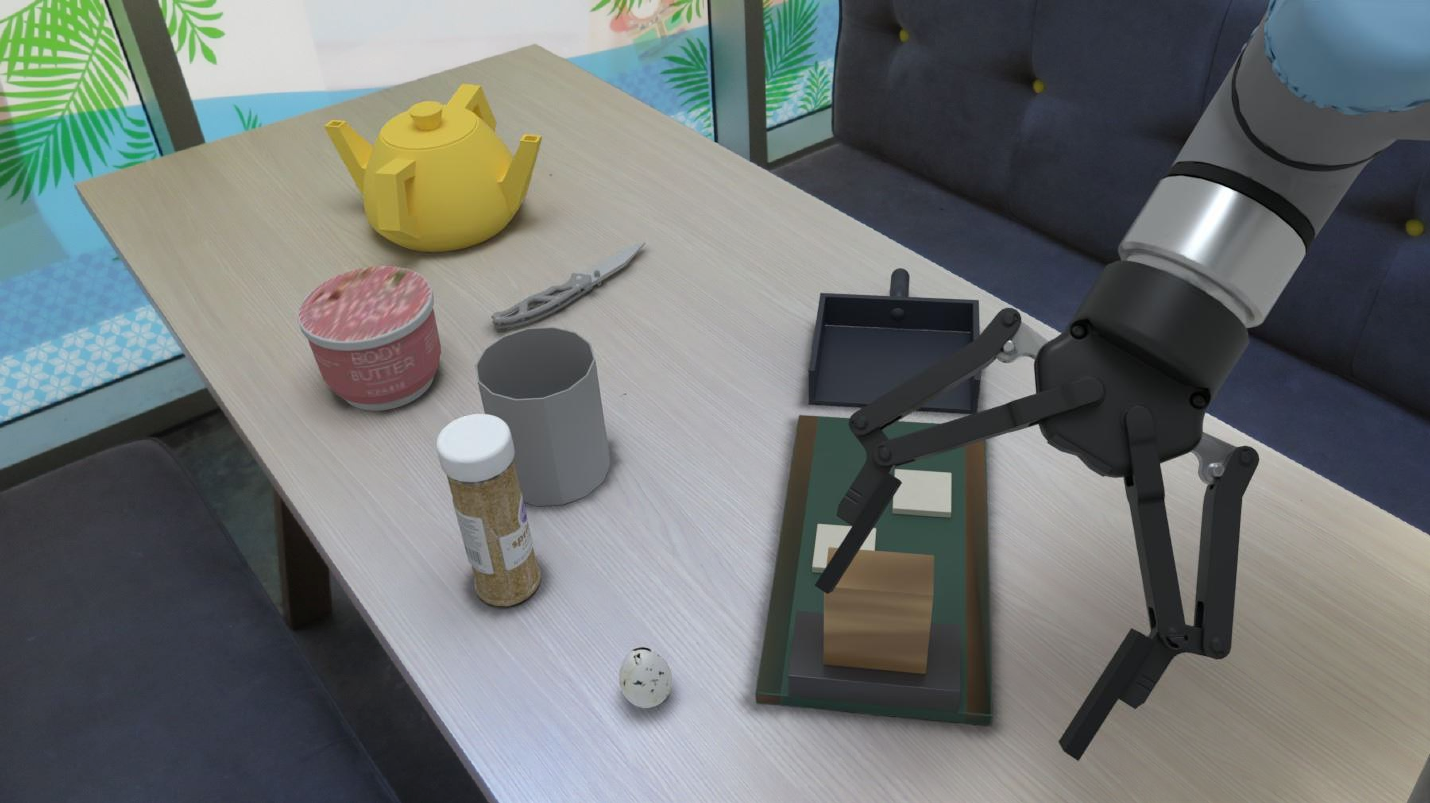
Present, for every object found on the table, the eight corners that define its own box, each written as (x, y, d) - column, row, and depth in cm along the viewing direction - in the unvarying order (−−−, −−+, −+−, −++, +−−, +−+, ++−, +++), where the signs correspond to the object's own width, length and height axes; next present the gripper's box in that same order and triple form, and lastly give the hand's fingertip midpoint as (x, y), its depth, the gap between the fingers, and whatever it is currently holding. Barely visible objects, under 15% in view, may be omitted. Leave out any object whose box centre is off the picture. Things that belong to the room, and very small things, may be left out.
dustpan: (976, 414, 92) (980, 379, 90) (808, 404, 94) (808, 370, 92) (974, 293, 104) (978, 260, 102) (825, 287, 106) (826, 254, 104)
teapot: (498, 161, 128) (478, 54, 120) (562, 228, 116) (544, 115, 109) (345, 207, 122) (313, 98, 114) (396, 283, 110) (365, 168, 103)
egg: (684, 689, 74) (678, 637, 70) (657, 728, 72) (649, 676, 68) (640, 670, 75) (632, 618, 72) (612, 708, 73) (603, 656, 70)
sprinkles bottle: (548, 597, 80) (517, 447, 71) (481, 617, 79) (441, 468, 70) (533, 550, 83) (501, 402, 75) (468, 569, 82) (429, 421, 74)
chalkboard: (991, 726, 70) (992, 716, 70) (755, 703, 73) (755, 693, 72) (984, 435, 90) (985, 425, 89) (798, 424, 92) (798, 414, 92)
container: (471, 350, 102) (453, 272, 97) (417, 430, 94) (394, 349, 89) (361, 336, 104) (338, 259, 99) (299, 413, 96) (271, 333, 91)
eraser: (958, 712, 70) (970, 612, 64) (788, 696, 72) (786, 596, 66) (958, 645, 74) (970, 544, 68) (796, 631, 75) (795, 531, 70)
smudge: (950, 518, 82) (951, 512, 82) (892, 513, 83) (892, 507, 82) (951, 478, 85) (951, 472, 85) (894, 474, 86) (894, 468, 86)
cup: (521, 425, 94) (499, 322, 87) (622, 435, 92) (608, 331, 86) (483, 500, 88) (458, 394, 81) (591, 512, 86) (573, 405, 80)
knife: (635, 244, 113) (657, 255, 112) (489, 328, 104) (510, 341, 102) (634, 230, 112) (656, 241, 111) (486, 313, 103) (507, 326, 101)
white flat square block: (872, 577, 78) (873, 571, 78) (812, 572, 79) (812, 566, 79) (875, 533, 82) (876, 527, 81) (817, 529, 82) (817, 523, 82)
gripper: (1398, 440, 58) (1162, 806, 58) (955, 190, 64) (740, 525, 64) (1463, 426, 51) (1194, 844, 51) (957, 145, 56) (714, 524, 56)
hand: (942, 668), depth 57 cm, fingers open, 13 cm apart
